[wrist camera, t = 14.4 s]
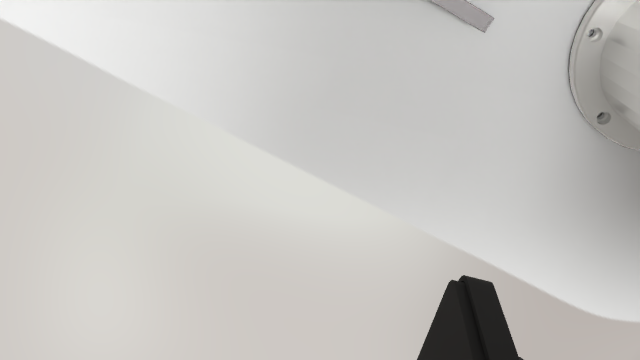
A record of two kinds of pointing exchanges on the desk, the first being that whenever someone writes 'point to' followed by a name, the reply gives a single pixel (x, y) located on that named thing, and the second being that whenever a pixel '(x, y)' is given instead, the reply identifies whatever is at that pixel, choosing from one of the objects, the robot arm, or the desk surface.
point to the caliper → (467, 12)
